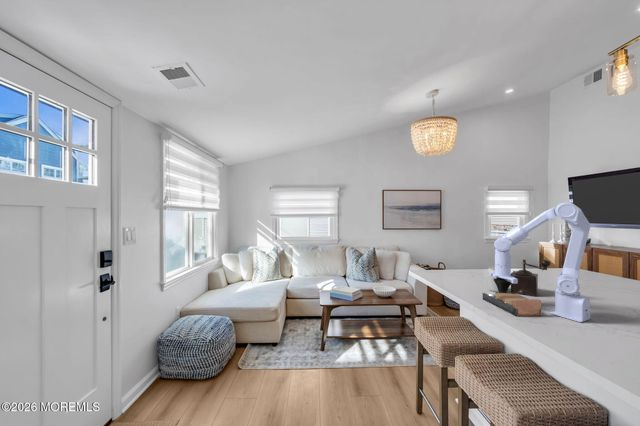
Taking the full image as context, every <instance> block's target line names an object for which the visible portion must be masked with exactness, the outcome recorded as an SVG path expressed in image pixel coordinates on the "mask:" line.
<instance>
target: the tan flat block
mask: <svg viewBox="0 0 640 426" xmlns="http://www.w3.org/2000/svg"><path fill="white" fill-rule="evenodd" d="M495 294H496V298H497V299H500V300H502V301H504V302H506V303H508V304H510V305H512V306H513V300H524V299H529V298H527V297H526V296H525V297H524V295H523V296H522V295H521V294H516V293H511V292H507V293H497V292H495Z"/></svg>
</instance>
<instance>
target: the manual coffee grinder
mask: <svg viewBox="0 0 640 426" xmlns="http://www.w3.org/2000/svg"><path fill="white" fill-rule="evenodd" d="M539 262H540V265H541V266H537V265H533V264H529V263H527V261H526V259H522V269H520V270H513V271H512V272H511V276H513V277H514V278H516V279H518V284H513V283H512V284H511V285H510V292H509V293H515V294H518V295H521V296H522V295H523V296H530V297H537V296H538V295H539V284H538V283H539V278H538V277H539V273H534V272H531V271H529V270H527V269H526V266H528V267H532V268H536V269H539V270H542V271H548V267H550V266H551V265H552V263H551V261H549V260H548V259H541V260H540V261H539Z"/></svg>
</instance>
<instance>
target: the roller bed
mask: <svg viewBox="0 0 640 426" xmlns="http://www.w3.org/2000/svg"><path fill="white" fill-rule="evenodd" d="M482 300H483V301H485V302H487V303H489V304H490V305H493V306H495V307H497V308H498V309H501V310H503V311H504V312H506V313H509V314H511V315H512V316H515V317H541V316H542V300H541V299H538V298H537V299H536V298H535V299H534V298H533V299H530V298H528V299H524V300H513V306H512V305H510V304H508V303H506V302H504V301H502V300H500V299H497V298H496V293H494V294H493V293H492V294H491V293H490V294H488V293H485V292H482Z"/></svg>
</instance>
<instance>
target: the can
mask: <svg viewBox="0 0 640 426" xmlns="http://www.w3.org/2000/svg"><path fill="white" fill-rule="evenodd" d="M486 271H487V272H486V277H487V279H486V285H487V287H486V288H487V290H488V291H489V290H490V292H492V293H499V291H498V288H497V285H496V283H495V282H494V279H496V278H497V277H494V276H490V275H489V271H495V266H488V269H487V270H486Z"/></svg>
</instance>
